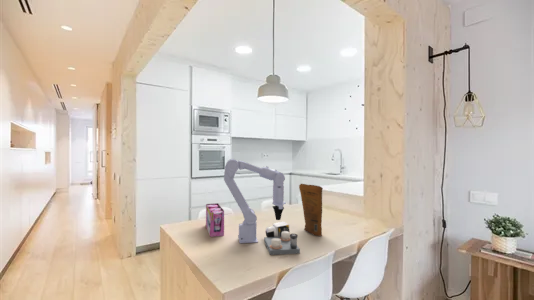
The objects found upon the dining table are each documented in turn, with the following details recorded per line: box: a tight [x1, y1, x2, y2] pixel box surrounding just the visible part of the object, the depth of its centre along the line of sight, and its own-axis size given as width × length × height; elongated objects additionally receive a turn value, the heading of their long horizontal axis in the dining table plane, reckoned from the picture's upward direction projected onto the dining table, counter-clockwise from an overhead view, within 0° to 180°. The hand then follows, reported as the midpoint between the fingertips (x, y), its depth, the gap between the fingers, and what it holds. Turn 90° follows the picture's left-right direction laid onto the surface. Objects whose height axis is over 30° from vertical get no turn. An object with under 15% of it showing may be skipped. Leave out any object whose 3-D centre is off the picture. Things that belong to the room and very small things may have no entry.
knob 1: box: [271, 238, 281, 248], centre depth 124 cm, size 4×4×3 cm
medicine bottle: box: [265, 221, 291, 237], centre depth 142 cm, size 7×7×12 cm
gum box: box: [205, 203, 225, 238], centre depth 154 cm, size 24×8×14 cm, turn 19°
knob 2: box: [281, 231, 291, 240], centre depth 135 cm, size 4×4×3 cm
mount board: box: [263, 236, 301, 256], centre depth 129 cm, size 14×18×2 cm
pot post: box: [290, 233, 298, 249], centre depth 123 cm, size 4×4×6 cm
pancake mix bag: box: [298, 183, 323, 237], centre depth 152 cm, size 7×19×28 cm, turn 27°
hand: (278, 219), depth 140 cm, fingers closed
